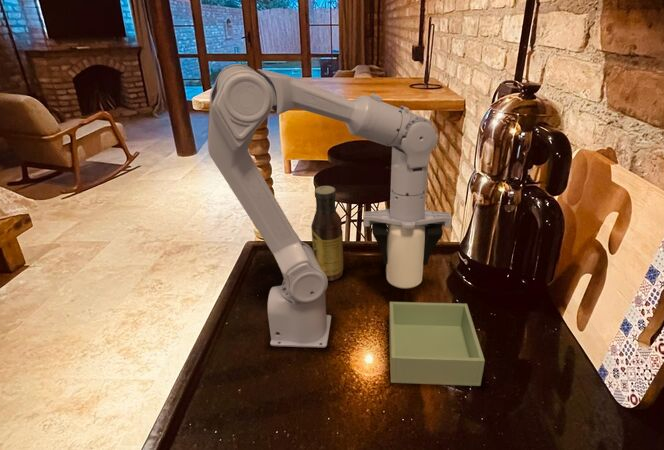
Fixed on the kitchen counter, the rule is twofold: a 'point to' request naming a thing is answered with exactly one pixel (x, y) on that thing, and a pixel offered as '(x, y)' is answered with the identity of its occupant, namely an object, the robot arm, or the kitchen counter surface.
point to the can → (405, 256)
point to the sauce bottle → (327, 233)
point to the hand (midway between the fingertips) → (404, 261)
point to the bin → (434, 344)
